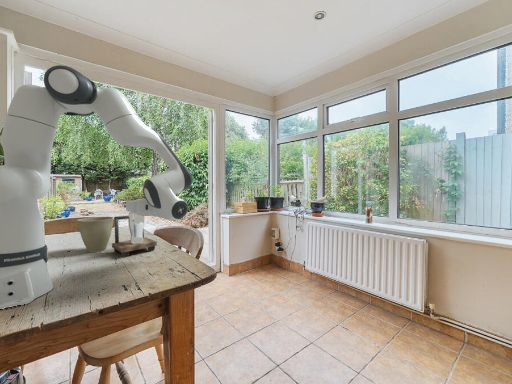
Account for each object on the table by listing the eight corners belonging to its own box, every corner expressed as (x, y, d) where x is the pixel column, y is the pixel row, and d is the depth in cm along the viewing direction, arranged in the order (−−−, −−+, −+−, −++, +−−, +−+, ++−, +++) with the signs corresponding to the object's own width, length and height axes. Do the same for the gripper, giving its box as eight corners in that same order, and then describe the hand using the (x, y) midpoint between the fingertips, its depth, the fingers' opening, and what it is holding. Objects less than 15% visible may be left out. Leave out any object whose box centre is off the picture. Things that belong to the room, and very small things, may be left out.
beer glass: (147, 242, 114) (147, 212, 113) (133, 245, 108) (133, 213, 107) (139, 240, 118) (139, 211, 117) (125, 243, 112) (125, 212, 111)
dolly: (121, 258, 103) (120, 220, 102) (112, 252, 112) (111, 217, 111) (156, 250, 115) (156, 216, 114) (145, 245, 124) (145, 213, 123)
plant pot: (121, 246, 121) (120, 216, 120) (97, 255, 106) (96, 221, 106) (96, 245, 124) (96, 216, 123) (70, 253, 109) (69, 220, 108)
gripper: (183, 198, 101) (167, 196, 110) (134, 199, 86) (121, 196, 95) (182, 212, 102) (167, 209, 111) (133, 215, 86) (120, 212, 95)
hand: (145, 203), depth 103 cm, fingers open, 8 cm apart
